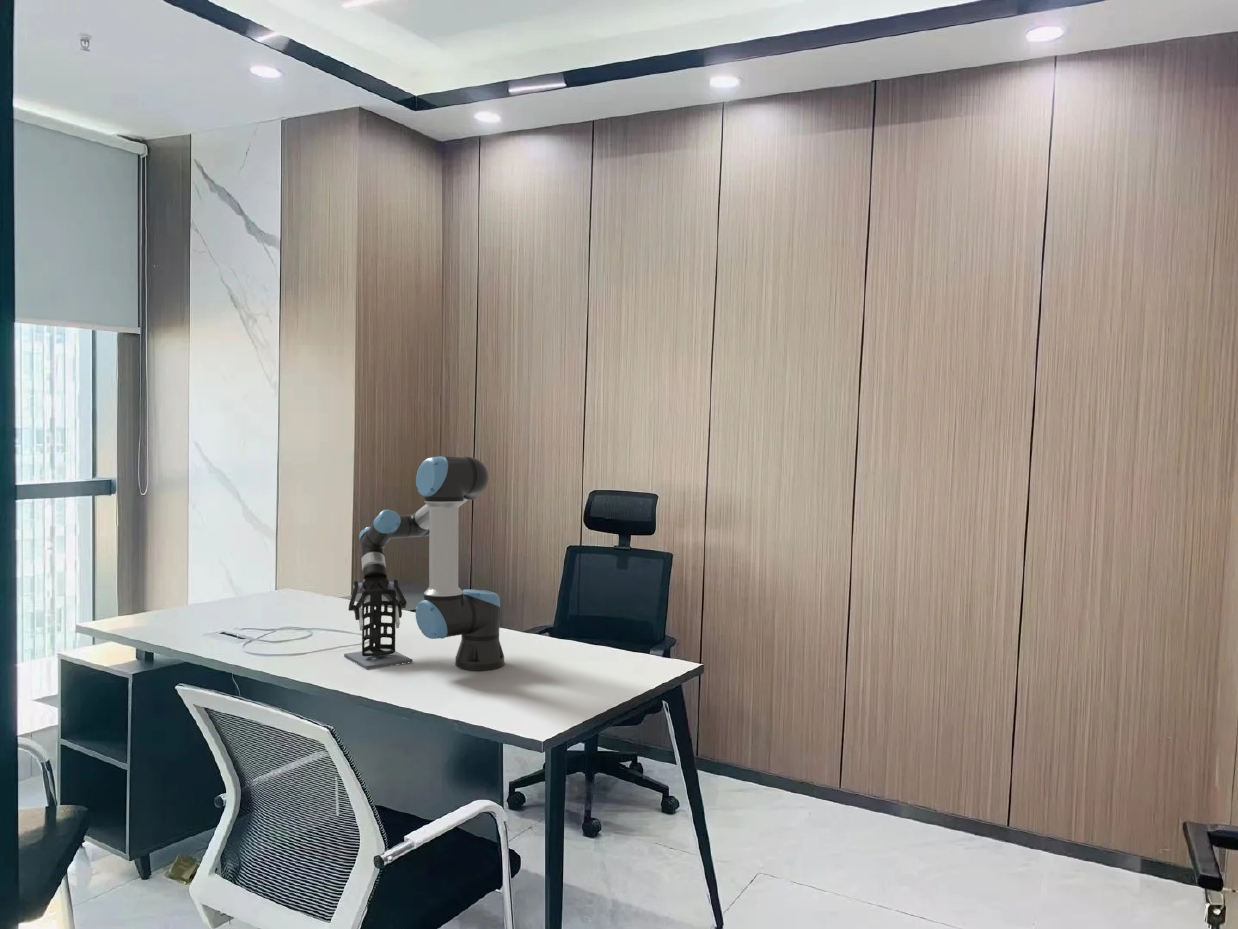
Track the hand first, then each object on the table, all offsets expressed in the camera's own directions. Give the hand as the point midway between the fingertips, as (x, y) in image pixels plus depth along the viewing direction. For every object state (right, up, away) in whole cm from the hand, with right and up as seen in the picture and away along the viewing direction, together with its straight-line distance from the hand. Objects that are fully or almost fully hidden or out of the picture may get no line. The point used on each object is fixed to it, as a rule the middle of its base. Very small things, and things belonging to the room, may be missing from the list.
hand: (379, 626), depth 276 cm
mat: (-1, -11, +3) cm, 11 cm away
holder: (-2, -9, +3) cm, 10 cm away
